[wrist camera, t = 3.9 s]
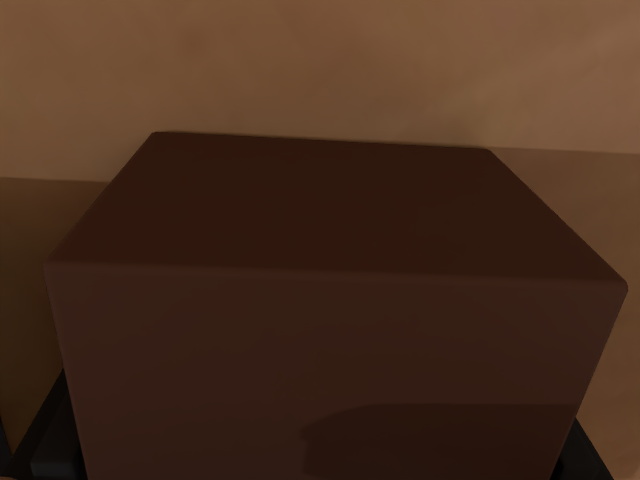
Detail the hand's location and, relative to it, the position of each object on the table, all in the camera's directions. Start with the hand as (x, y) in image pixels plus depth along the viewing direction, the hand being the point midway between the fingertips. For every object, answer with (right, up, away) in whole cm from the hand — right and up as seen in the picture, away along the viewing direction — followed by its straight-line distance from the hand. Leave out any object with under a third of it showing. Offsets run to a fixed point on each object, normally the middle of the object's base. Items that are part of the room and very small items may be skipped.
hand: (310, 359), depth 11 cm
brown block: (0, 0, +1) cm, 1 cm away
